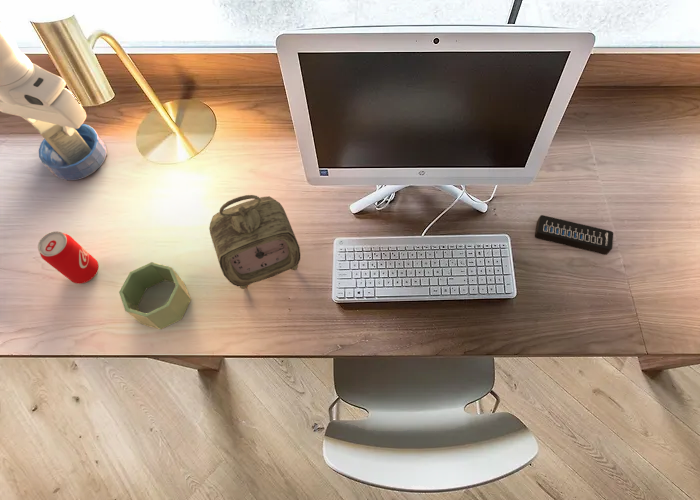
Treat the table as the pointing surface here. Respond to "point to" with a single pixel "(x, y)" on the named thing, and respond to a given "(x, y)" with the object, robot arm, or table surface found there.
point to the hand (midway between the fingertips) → (56, 130)
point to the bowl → (81, 167)
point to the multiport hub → (574, 234)
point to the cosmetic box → (63, 142)
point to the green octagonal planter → (147, 278)
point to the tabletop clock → (253, 240)
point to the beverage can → (68, 257)
